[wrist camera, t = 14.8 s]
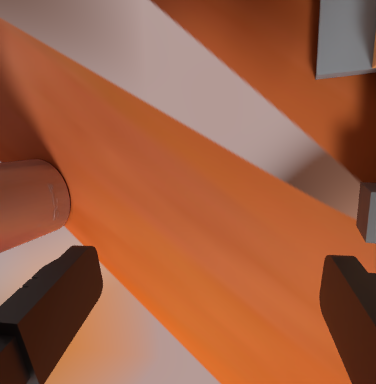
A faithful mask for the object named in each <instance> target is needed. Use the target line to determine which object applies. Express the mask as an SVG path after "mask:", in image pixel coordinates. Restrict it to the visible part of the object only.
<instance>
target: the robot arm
mask: <svg viewBox="0 0 376 384" xmlns="http://www.w3.org/2000/svg"><path fill="white" fill-rule="evenodd" d="M69 213H70V197H69V193H68V189H67V186H66V184H65V182H64V180H63V178H62V176H61V175H60V173H59V172H58V171H57V170H56V169H55V168H54V167H53V166H52V165H51V164H49V163H48V162H46V161H44V160H40V159H31V160H22V161H13V162H2V163H0V253H1V252H4V251H6V250H9V249H11V248H14V247H16V246H19V245H21V244H24V243H26V242H29V241H31V240H33V239H36V238H39V237H41V236H43V235H46V234H48V233H51V232H53V231H56V230H58V229H60V228H61V227H62V226H64V225H65V223H66V221H67V219H68V216H69ZM102 288H103V280H102V275H101V270H100V265H99V260H98V255H97V251H96V249H95V247H93V246H71V247H70V248H69V249H68V250H67V251H66V252H65V253H64V254H63V255H61V257H59V258H58V259H56V260H54V261H53V262H51V263H49V264H48V265H45V266H44V267H42V268H41V269H40V270H39V271H38V272H37V273H36V274H35V275H34V276H33V277H32V279H29V280H28V281H27V282H26V283H25V284H24V285H23V287H22V288H19V289H18V290H17V291H16V292H15V293H14V294H13V295H12V296H11V297H10V298H9V299H7V300H6V301H5V302H4V303H3V304H2V305H1V306H0V384H44V383H45V382H46V380H47V378H48V377H49V375H50V373H51V372H52V371H53V369H54V368H55V366H56V364H57V363H58V361H59V360H60V358H61V357H62V355H63V353H64V352H65V351H66V349H67V347H68V346H69V344H70V342H71V341H72V340H73V338H74V337H75V335H76V333H77V332H78V330H79V329H80V327H81V326H82V324H83V323H84V321H85V320H86V318H87V316H88V315H89V313H90V311H91V310H92V308H93V307H94V305H95V304H96V302H97V301H98V299H99V298H100V295H101V292H102ZM320 307H321V311H322V314H323V317H324V319H325V321H326V324H327V326H328V328H329V331H330V333H331V335H332V338H333V340H334V342H335V345H336V347H337V349H338V352H339V354H340V356H341V359H342V361H343V364H344V366H345V368H346V371H347V373H348V375H349V378H350V380H351V382H352V384H376V274H375V273H368V272H367V271H366V270H365V268H364V267H363V266H362V264H361V263H360V262H359V261H358V259H357V258H356V257H354V256H340V255H327V256H326V258H325V261H324V267H323V274H322V281H321V288H320Z"/></svg>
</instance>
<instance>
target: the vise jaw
mask: <svg viewBox="0 0 376 384" xmlns="http://www.w3.org/2000/svg"><path fill="white" fill-rule="evenodd" d="M372 68H376V33H375V43H374V53H373V63H372ZM356 226H357V228H358V229H359V231H360V233H361V235H362V237H363V238H364V240H365V242H367V243H376V183H362V182H361V184H360V194H359V204H358V214H357V224H356Z"/></svg>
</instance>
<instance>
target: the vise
mask: <svg viewBox="0 0 376 384" xmlns="http://www.w3.org/2000/svg"><path fill="white" fill-rule="evenodd" d="M375 33H376V0H320V11H319V29H318V46H317V64H316V79H324V78H333V77H342V76H350V75H359V74H368V73H376V68H372V63H373V53H374V43H375Z"/></svg>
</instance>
